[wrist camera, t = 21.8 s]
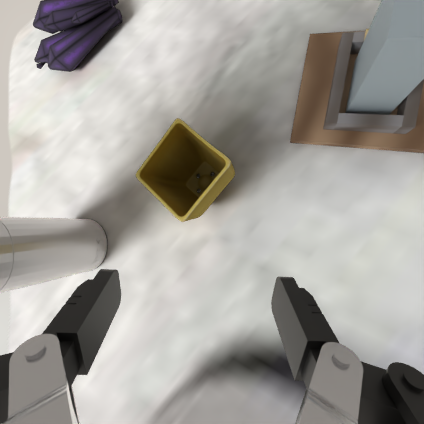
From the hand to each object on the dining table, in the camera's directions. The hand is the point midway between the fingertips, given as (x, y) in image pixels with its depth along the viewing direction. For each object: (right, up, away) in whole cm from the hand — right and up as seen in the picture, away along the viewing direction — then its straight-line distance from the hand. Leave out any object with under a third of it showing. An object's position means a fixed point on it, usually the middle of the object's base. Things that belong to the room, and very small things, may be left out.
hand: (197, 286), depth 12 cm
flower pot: (0, +8, +23) cm, 24 cm away
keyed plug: (+20, +19, +16) cm, 31 cm away
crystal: (-23, +36, +32) cm, 53 cm away
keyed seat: (+20, +19, +17) cm, 32 cm away
